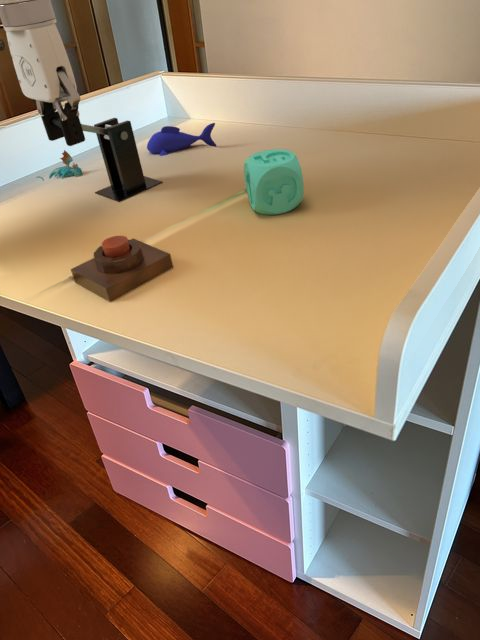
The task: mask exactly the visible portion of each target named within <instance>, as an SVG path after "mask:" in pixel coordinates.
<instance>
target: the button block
mask: <svg viewBox="0 0 480 640" xmlns="http://www.w3.org/2000/svg"><path fill="white" fill-rule="evenodd" d="M128 242H129V246H130V252H129V253H127V254H125V255H123V256H120V257H116V258H107V257H106V256H105V254H104V251H103V248H102V245H100V246H98V247H97V248H96V249H95V250H94V251H93V257H92V258H91V259H89V260H87V261H85V262H82V263H79V265H76V266H75V267H73V268H70V272H71V274H72V277H73V280H74V283H75V284H77V285H79V286H81V287H82V288H84V289H86V290H88V291H89V292H91V293H93V294H94V295H97V296H98V297H101V298H102V299H104V300H106V301H108V302H109V303H112V302H113V301H115V300H117V299H118V298H120V297H123V296H124V295H126V294H128V293H129V292H131V291H133V290H135V289H137V288H138V287H140V286H142V285H144V284H145V283H147V282H149V281H151V280H152V279H155V278H156V277H158V276H160V275H162V274H163V273H165V272H167V271H169V270H171V269H172V268H174V264H173V260H172V256H171V253H170V252H167V251H165V250H162V249H159V248H157V247H154V246H152V245H150V244H148V243H145V242H143V241H140V240H139V239H136V238H134V237H133V238H131V239H128Z"/></svg>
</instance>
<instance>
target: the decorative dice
mask: <svg viewBox="0 0 480 640" xmlns="http://www.w3.org/2000/svg"><path fill="white" fill-rule="evenodd" d="M301 167H302V166H301V164H300V160H299V159H298V157H297V155H296V154H295V153H294V152H292V151H291V150H288V149H283V148H274V149H266V150H261V151H257V152H254V153H252V154H251V155H249V156H248V158H247V159H246V160H245V162H244V163H243V174H244V175H243V177H244V183H245V188H246V193H247V197H248V202H249V204H250V206H251V209H252V210H253V211H254V212H256V213H258V214H261V215H268V216H273V215H274V216H275V215H282V214H286V213H289V212H291V211H293V210H295V209H296V208H297V207H298V206H299V205H300V203H301V202H302V201H303V198H304V193H305V191H304V190H305V189H304V188H305V187H304V178H303V172H302V168H301Z"/></svg>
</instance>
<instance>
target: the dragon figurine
mask: <svg viewBox="0 0 480 640" xmlns="http://www.w3.org/2000/svg"><path fill="white" fill-rule="evenodd" d="M61 155H62V157H60V158H59V159H60V160H61V161H62V164H64V166H59V167H56V168H54V169H53V170H52V171H51V172H50V173H49V175H48V179H49V180H50V179H52V178H53V176H54V178H56V177H57V176H58V175H59V176H60V177H61V179H64V178H68V177H77V178H79V177H81V176H82V175H83V171H82V168H81V167H79V165H78V163H75V162H73V161H74V159H73V157H72V156H71V155H70V153H69V152H68V151H66V150H65V149H64V150H63V152H62V153H61ZM71 162H73V163H72V165H71V166H70V164H71ZM35 178H40V179H41V180H42V182H44V181H45V180H44V177H42V176H36V177H35Z"/></svg>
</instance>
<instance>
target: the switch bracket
mask: <svg viewBox="0 0 480 640" xmlns="http://www.w3.org/2000/svg"><path fill="white" fill-rule="evenodd" d="M105 124H107V125H113V126H110V127H107V132H108V135H109V139H110V140H108V139H104V135H103V134H98V133H95V134H96V138H97V142H98V145H99V148H100V149H99V150H100V152H101V155H102V160H103V164H104V166H105V170H106V173H107V177H108V180H109V184H110V185H109V186H106V187H103V188H102V189H99V190H97V191H94V194H95V195H98V196H101V197H103V198H106V199H109V200H112V201H114V202H117V203H121V202H123V201H126V200H128V199H130V198H132V197H135V196H137V195H139V194H141V193H143V192H146V191H148V190H150V189H153V188H155V187H157V186H159V185H162V184H164V181H162V180H159V179H155V178H152V177H150V176H149V177H148V176H146V175H144V171H143V167H142V163H141V159H140V154H139V151H138V145H137V142H136V139H135V133H134V131H133V126H132V122H131V121H130V120H129V119H128V120H125V121H121V122H119V119H118V118H117V117H113V118H109V119H106V120H103V121H101V122H98V123H95V124H93V126H95V127H100V128H105Z"/></svg>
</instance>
